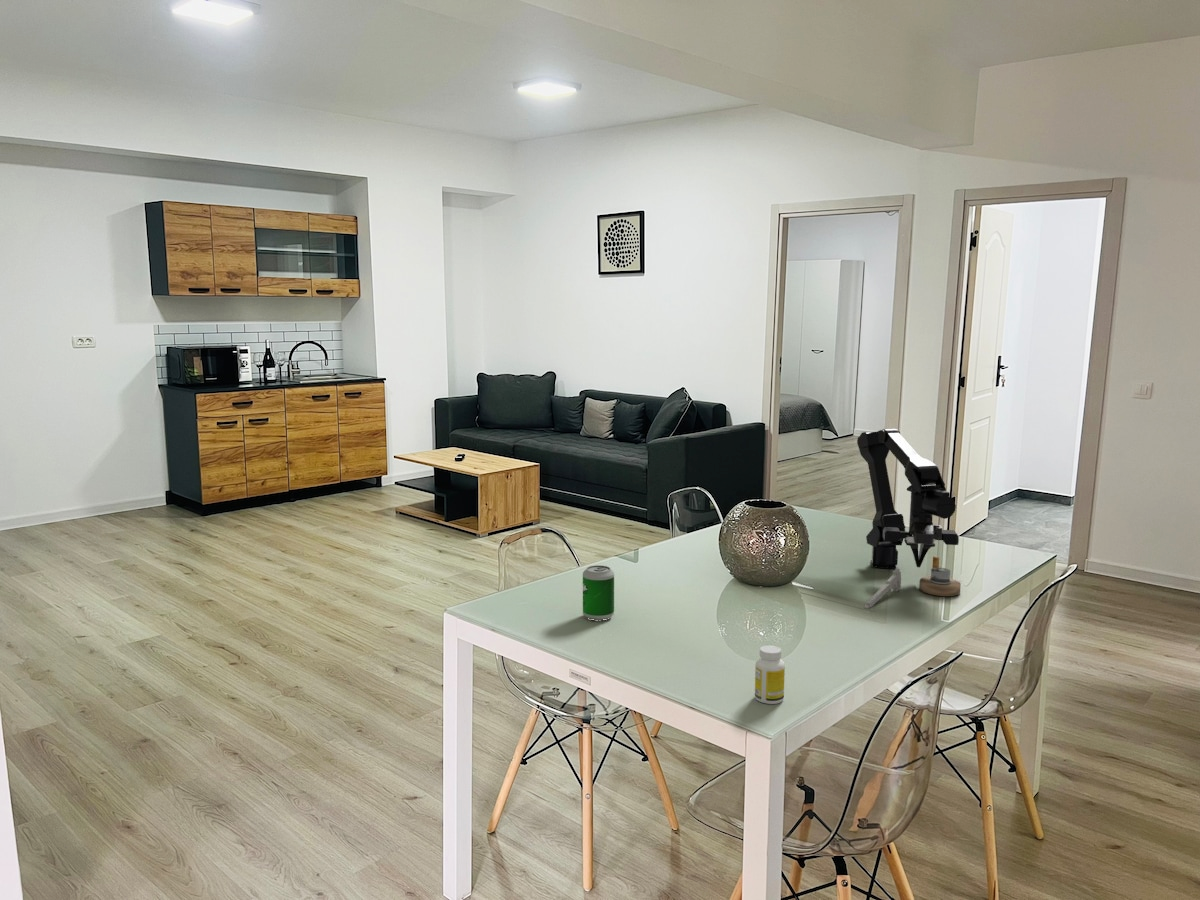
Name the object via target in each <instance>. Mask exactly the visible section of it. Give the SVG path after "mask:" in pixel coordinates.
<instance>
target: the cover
mask: <svg viewBox="0 0 1200 900" xmlns="http://www.w3.org/2000/svg"><path fill="white" fill-rule="evenodd" d="M930 570H931V573H930V576H931V578H930V582H931V583H934V584H938V585H948V584H951V580H950V579H951V569H949V568H945V567H939V568H931V569H930Z"/></svg>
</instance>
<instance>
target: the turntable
mask: <svg viewBox="0 0 1200 900" xmlns="http://www.w3.org/2000/svg"><path fill="white" fill-rule="evenodd" d="M932 568H940V556H935V555H934V556H932ZM932 568H931V569H932ZM930 578H931V575H930V576H924V577H921V578H920V579H919V590H920V591H921V592H923V593H924V594H928V595H932V596H936V597H937V596H939V597H953V596H958V595H960V594H961V587H962V586H961V582H960V581H958V580H956V579H953V578H950V580H951V584H948V585H938V584H934V583H931V582H930Z"/></svg>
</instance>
